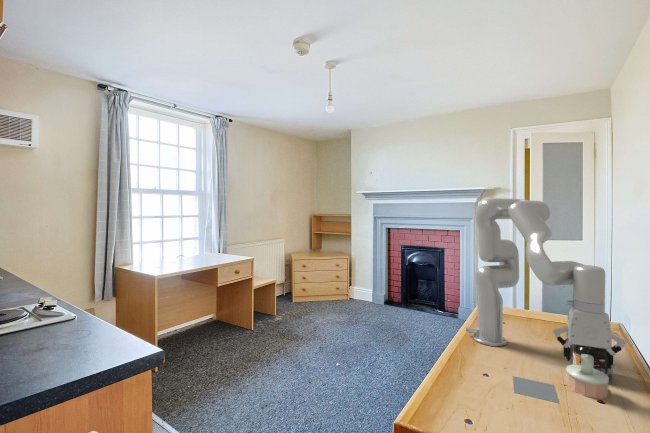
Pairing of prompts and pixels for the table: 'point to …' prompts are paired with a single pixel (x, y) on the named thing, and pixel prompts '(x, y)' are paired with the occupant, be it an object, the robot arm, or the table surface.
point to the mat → (535, 389)
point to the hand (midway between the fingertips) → (587, 362)
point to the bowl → (587, 388)
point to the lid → (587, 371)
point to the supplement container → (596, 353)
